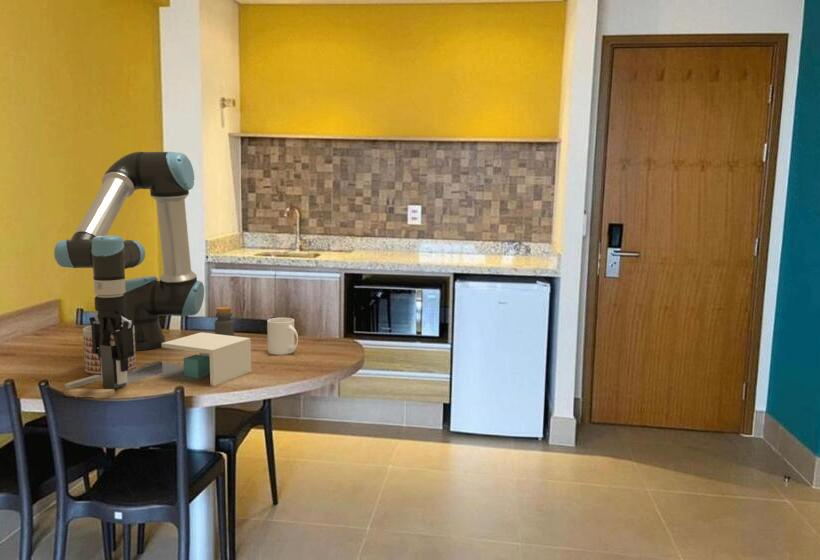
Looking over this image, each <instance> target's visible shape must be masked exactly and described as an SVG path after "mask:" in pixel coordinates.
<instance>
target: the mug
mask: <svg viewBox="0 0 820 560" xmlns="http://www.w3.org/2000/svg"><path fill="white" fill-rule="evenodd" d="M266 323H267V326H266V327H267V328H266V329H267V330H266V331H267V351H268V353H269V354H270V355H273V356H274V355H276V356H283V355H284V356H285V355H291V354H292V353H294V352H295V350H296V348H297V347H298V344H299V335H298V332H297V330H296V328H295V319H294V318H291V317H275V318H274V317H273V318H269V319H267V322H266ZM295 337H296V342H295Z"/></svg>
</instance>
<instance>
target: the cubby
mask: <svg viewBox="0 0 820 560" xmlns="http://www.w3.org/2000/svg"><path fill="white" fill-rule="evenodd" d="M251 339H252V338H250V337H243V336H235V335H234V336H228V335H220V334H215V333H210V332H201V331H200V332H198V333H194V334H191V335H187V336H182V337H178V338H176V339H172V340H168V341H165V342H164V343H162V346H161V348H163V349H169V350H170V349H171V350H178V351H185V352H192V353H198V355H203V356H210V375H209V377H210V378H209V379H210V381H209V383H210V386H213V387H215V386H218V385H219V384H223V383H225V382H227V381H231V380H232V379H233V380H234V379H235V378H238V377H240V376H243V375H246V374H248V373H251V372H252V345H251Z"/></svg>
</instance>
